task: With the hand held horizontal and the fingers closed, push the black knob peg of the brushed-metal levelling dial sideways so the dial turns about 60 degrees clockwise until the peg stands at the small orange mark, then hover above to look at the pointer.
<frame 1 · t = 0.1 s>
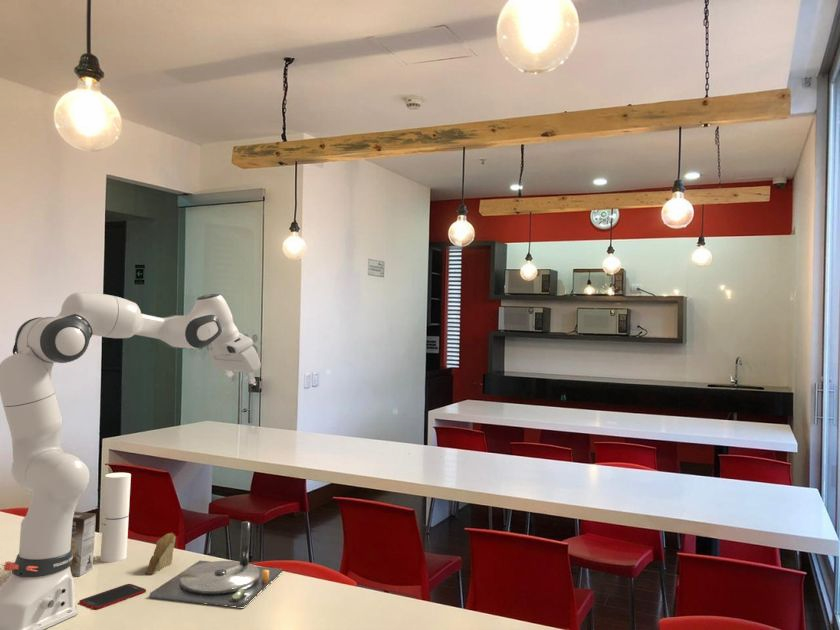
hand: (243, 382, 206), 54 cm above the table, tool tilted 30°, fingers open, 8 cm apart
grey square base plate: (219, 584, 181), on the table
level mark: (265, 586, 181), resting on grey square base plate
cylindrical container: (113, 558, 198), on the table
coffee box: (72, 572, 186), on the table
cell phone: (113, 599, 170), on the table
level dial: (221, 554, 181), point 8 cm above the table, hinge at 0.0°
rock: (157, 569, 192), on the table
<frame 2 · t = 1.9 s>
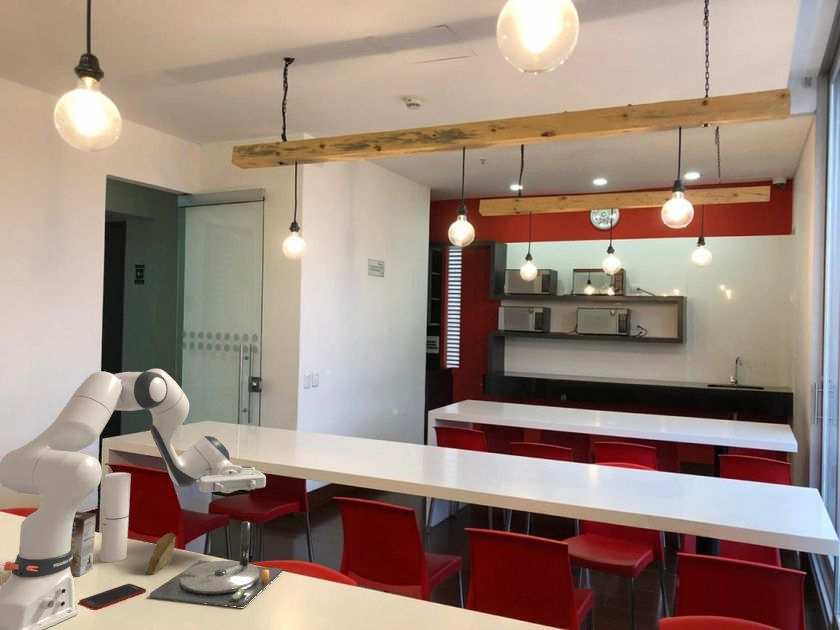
hand: (238, 488, 200), 22 cm above the table, tool horizontal, fingers open, 7 cm apart
nothing on the table moved.
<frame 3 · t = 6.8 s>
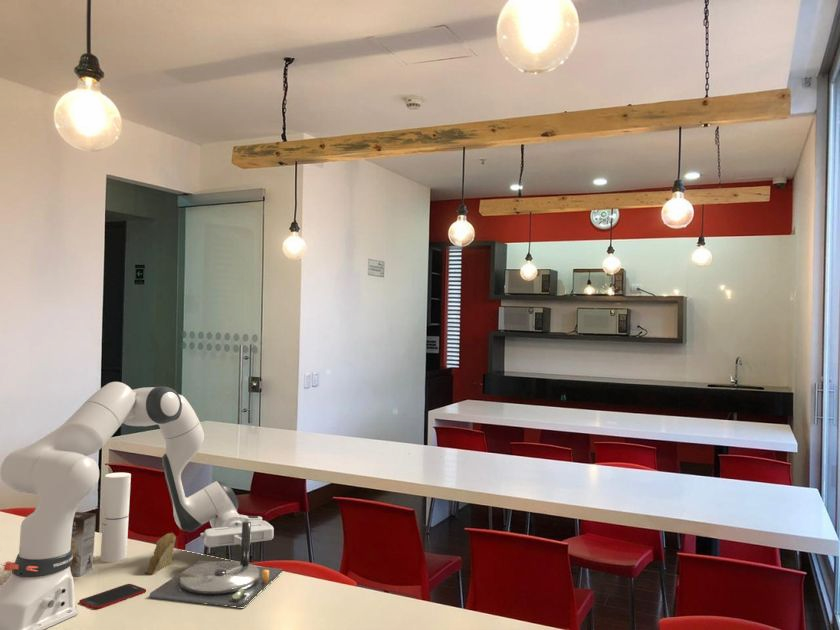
hand: (246, 542, 190), 9 cm above the table, tool horizontal, fingers closed, pressing on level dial
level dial: (221, 554, 181), point 8 cm above the table, hinge at -1.4°, touching gripper
everything else where it was.
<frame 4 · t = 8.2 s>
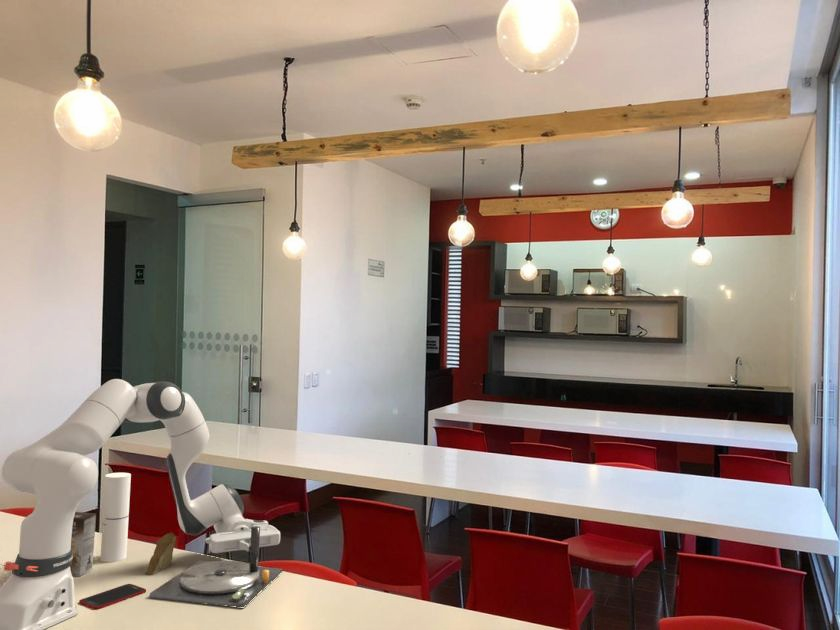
hand: (252, 548, 185), 9 cm above the table, tool horizontal, fingers closed, pressing on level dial
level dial: (221, 554, 181), point 8 cm above the table, hinge at -39.0°, touching gripper
everything else where it was.
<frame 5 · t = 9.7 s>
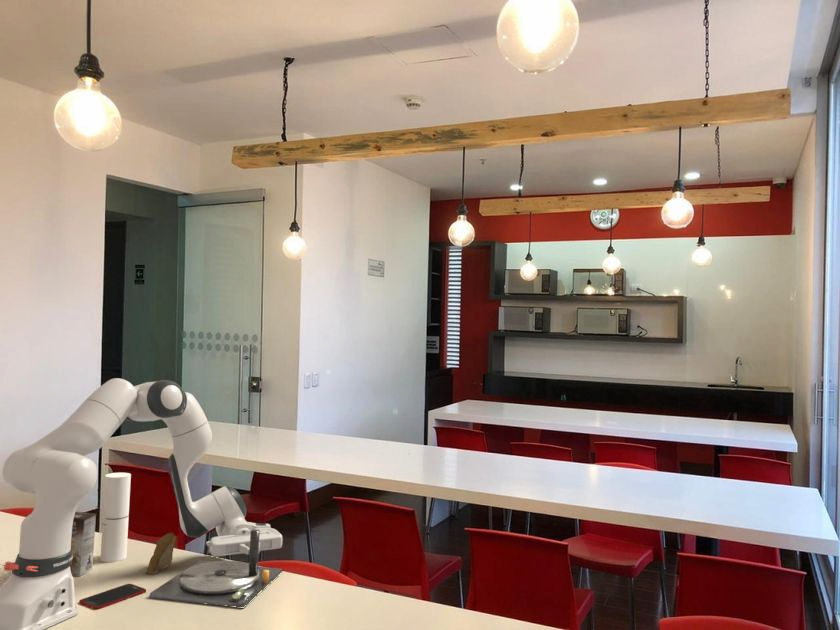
hand: (253, 551, 182), 9 cm above the table, tool horizontal, fingers closed
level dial: (221, 554, 181), point 8 cm above the table, hinge at -59.5°, touching gripper
everything else where it was.
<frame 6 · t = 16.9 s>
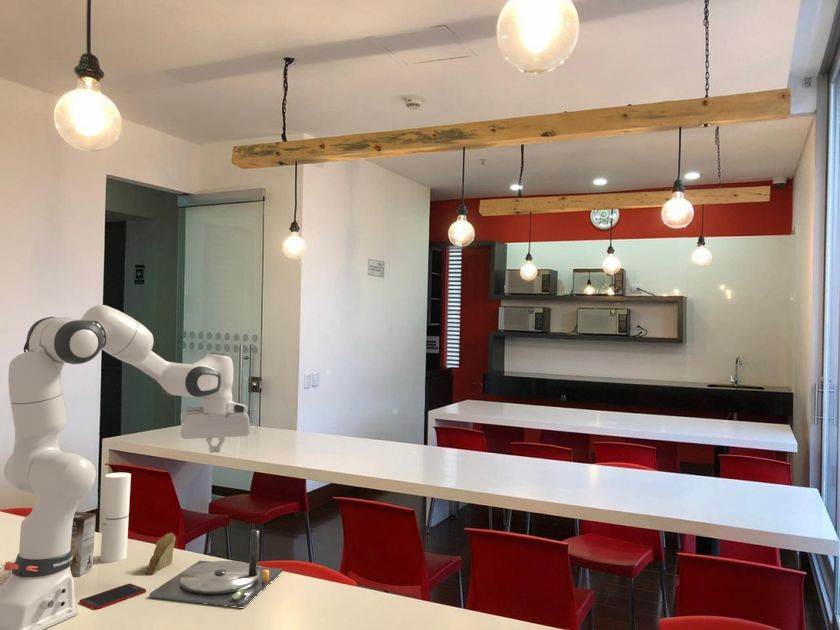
hand: (214, 452, 199), 33 cm above the table, tool pointing down, fingers closed
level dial: (221, 554, 181), point 8 cm above the table, hinge at -59.6°
everything else where it was.
at the end: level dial at -60° (first picture: +0°); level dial touching nothing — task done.
